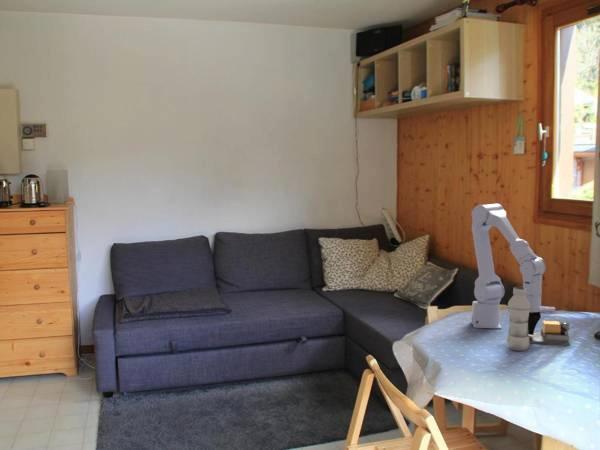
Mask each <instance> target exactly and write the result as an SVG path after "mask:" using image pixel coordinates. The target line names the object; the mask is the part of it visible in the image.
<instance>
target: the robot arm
mask: <svg viewBox="0 0 600 450" xmlns="http://www.w3.org/2000/svg"><path fill="white" fill-rule="evenodd" d="M492 227H494V228H495V227H496V228H497V229H498V231H499V232H500V233H501V234H502V236H503V237H504V238H505V239H506V240H507V242H508V243H509V244H510V245H509V251H510V252H511V254H512V255H513V256H514V258H515V259H516V260H517V262H518V264H519V265H520V266H519V272H520V274H521V275H522V281H523V282H522V287H524V288H526V295H525V296H526V298H527V299H528V301H529V303H530V311H529V317H528V334H529V335H533V333H534V332H535V328H536V326H537V324H538V322H539V321H540V319H541V318H542V315H541V314H549V315H556V308H555V307H554V306H546V305H545V306H544V305H542V288H543V287H542V284H543V274H544V273H546V270H547V265H546V262H545V260H544V259H543V258H541V257H540V256H538V255H537V254H536V253H534V251H533V250H532V249H531V247H530V243H529V242H528V241H526V240H525V239H521V238H520V237H519V235H518V234H517V232H516V231H515V229H514V227H513V226H512V224H511V222H510V220H509V219H508V218H507V211H506V210H505V209H504V208H503V206H502V205H501V204H500V203H496V202H494V203H489V204H478V205H477V204H476V206H474V208H473V210H471V232H472V239H473V245H474V252H475V258H476V263H477V270H478V277H477V278H476V279H475V281H474V290H473V291H474V292H473V293H474V297H475V299H476V300H473V301H472V306H471V311H472V312H471V323H472V326H473V328H477V329H500V330H501V329H502V325H501V324H500V305H501V304H500V302H501V301H502V298H503V297H504V296H505V292H506V290H505V287H504V285H503V283H502V279H501V277H499V276H498V275H497V274H496V272H495V266H494V260H493V258H494V257H493V254H492V246H491V241H490V234H489V230H490V229H491V228H492ZM507 312H508V313H509V309H508V308H507Z"/></svg>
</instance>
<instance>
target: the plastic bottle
mask: <svg viewBox="0 0 600 450" xmlns="http://www.w3.org/2000/svg"><path fill="white" fill-rule="evenodd" d="M512 294H513V295H512V297H510V299H509V300H508V303H507V310H508V309H509V312H508V317H509V322H508V323H509V328H508V334H507V337H506V338H507V339H506V343H507V346H508V348H509V349H510V350H513V351H517V352H518V351H519V352H521V351H523V352H524V351H527V350H528V349H529V347H530V344H531V343H530V341H529V336H528V317H529V311H530V303H529V301H528V299H527V298H526V296H525V295H526V288H524V287H523V286H514V287H513V290H512Z"/></svg>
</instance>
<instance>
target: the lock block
mask: <svg viewBox="0 0 600 450" xmlns="http://www.w3.org/2000/svg"><path fill="white" fill-rule="evenodd" d="M542 328H543V332H542V335H543V337H544V338H545V334H552V335H560V331H561V324H560V322H559V320H558V321H557V320H556V321H555V320H542Z"/></svg>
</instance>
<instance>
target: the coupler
mask: <svg viewBox="0 0 600 450" xmlns="http://www.w3.org/2000/svg"><path fill="white" fill-rule="evenodd" d="M559 323H560V324H561V331H560V335H552V334H545V338H544V337H543V335H542V332H543V327H541V328H540V331H534V333H533V335H529V334H528V336H529V341H530V344H536V345H537V344H539V345H541V344H542V345H559V346H561V345H563V346H570V345H571V343H570V336H569V331H570V322H568V321H560V322H559Z"/></svg>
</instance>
